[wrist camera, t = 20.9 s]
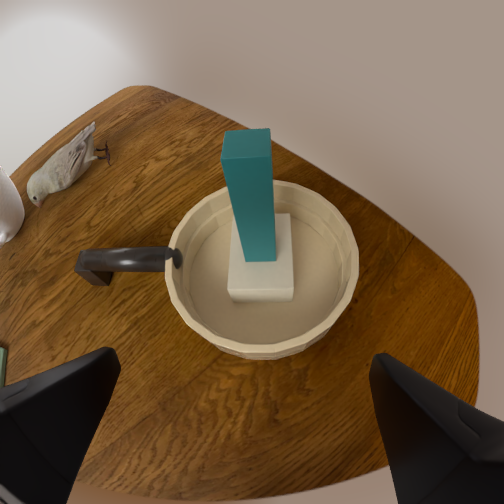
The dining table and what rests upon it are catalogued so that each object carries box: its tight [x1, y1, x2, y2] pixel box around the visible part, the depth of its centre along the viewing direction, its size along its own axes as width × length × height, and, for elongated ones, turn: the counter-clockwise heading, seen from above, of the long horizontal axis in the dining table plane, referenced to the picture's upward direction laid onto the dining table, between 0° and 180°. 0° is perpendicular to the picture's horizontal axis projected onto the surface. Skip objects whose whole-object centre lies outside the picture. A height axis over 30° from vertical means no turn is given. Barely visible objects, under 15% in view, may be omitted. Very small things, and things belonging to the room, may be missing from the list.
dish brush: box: [221, 128, 294, 303], centre depth 19 cm, size 7×5×14 cm
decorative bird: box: [27, 122, 111, 208], centre depth 32 cm, size 5×16×8 cm, turn 121°
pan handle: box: [74, 246, 183, 286], centre depth 24 cm, size 2×12×5 cm, turn 88°
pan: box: [165, 180, 359, 360], centre depth 23 cm, size 15×15×4 cm
